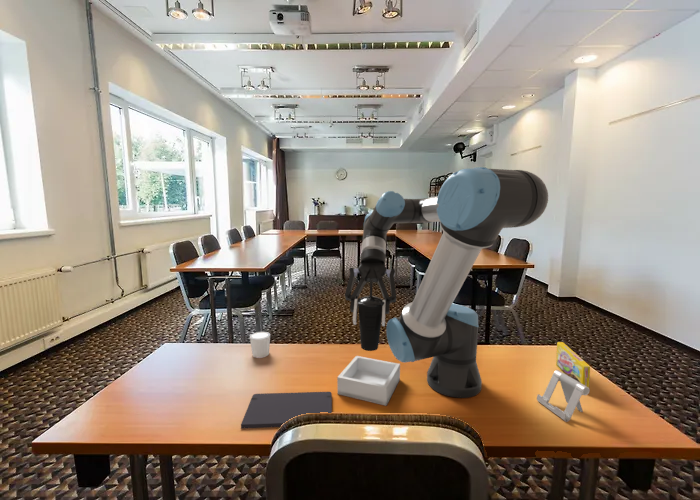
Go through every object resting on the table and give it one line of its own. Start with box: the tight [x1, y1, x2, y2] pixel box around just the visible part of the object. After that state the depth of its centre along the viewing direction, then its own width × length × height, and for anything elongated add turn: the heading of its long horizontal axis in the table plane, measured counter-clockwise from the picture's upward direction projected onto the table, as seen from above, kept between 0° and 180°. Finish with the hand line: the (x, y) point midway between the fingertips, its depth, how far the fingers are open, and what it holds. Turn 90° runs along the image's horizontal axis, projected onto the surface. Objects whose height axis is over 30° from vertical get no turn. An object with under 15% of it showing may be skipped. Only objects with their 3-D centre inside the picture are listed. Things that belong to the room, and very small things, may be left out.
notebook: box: [240, 391, 333, 430], centre depth 85 cm, size 13×2×21 cm
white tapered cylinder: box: [249, 331, 271, 359], centre depth 116 cm, size 7×7×7 cm
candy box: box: [555, 341, 591, 395], centre depth 100 cm, size 16×2×8 cm, turn 171°
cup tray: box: [336, 355, 401, 407], centre depth 96 cm, size 14×14×5 cm
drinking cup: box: [357, 278, 384, 352], centre depth 94 cm, size 8×8×20 cm
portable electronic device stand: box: [536, 369, 590, 423], centre depth 85 cm, size 9×8×8 cm
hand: (368, 323), depth 90 cm, fingers closed on drinking cup, 7 cm apart
